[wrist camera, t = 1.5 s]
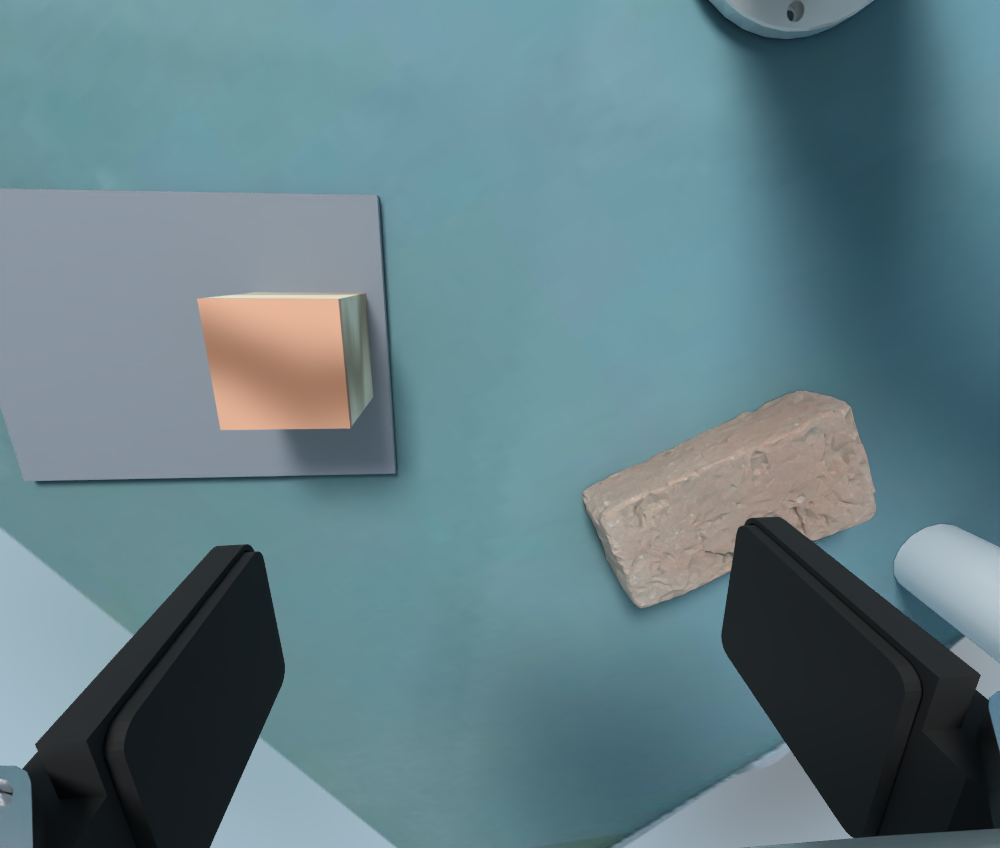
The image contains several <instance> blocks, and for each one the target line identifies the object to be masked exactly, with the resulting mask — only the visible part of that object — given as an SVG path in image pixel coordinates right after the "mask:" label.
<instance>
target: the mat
mask: <svg viewBox="0 0 1000 848" xmlns="http://www.w3.org/2000/svg"><path fill="white" fill-rule="evenodd" d="M254 292H267V293H365V295H366V308H367V321H368V334H369V347H370V361H371V374H372V387H373V398H372V399H371V401H370V402H369V403H368V405H367V406H366V408H365V409H364V410H363V412H362V413H361V414H360V416H359V417H358V418H357V420H356V421H355V423H354V424H353V425H352V427H351V428H340V429H269V430H220V425H219V419H218V413H217V408H216V402H215V397H214V391H213V386H212V380H211V374H210V369H209V363H208V358H207V352H206V346H205V341H204V335H203V330H202V324H201V319H200V313H199V307H198V302H197V299H199V298H208V297H217V296H226V295H236V294H245V293H254ZM0 407H1V410H2V414H3V417H4V420H5V423H6V426H7V429H8V432H9V435H10V438H11V442H12V445H13V448H14V451H15V454H16V457H17V460H18V463H19V466H20V470H21V473H22V476H23V479H24V481H56V480H106V479H155V478H204V477H253V476H302V475H352V474H395V473H396V455H395V439H394V423H393V407H392V392H391V376H390V360H389V344H388V329H387V313H386V297H385V281H384V266H383V250H382V234H381V218H380V203H379V196H378V195H340V194H283V193H225V192H168V191H110V190H53V189H0Z"/></svg>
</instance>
